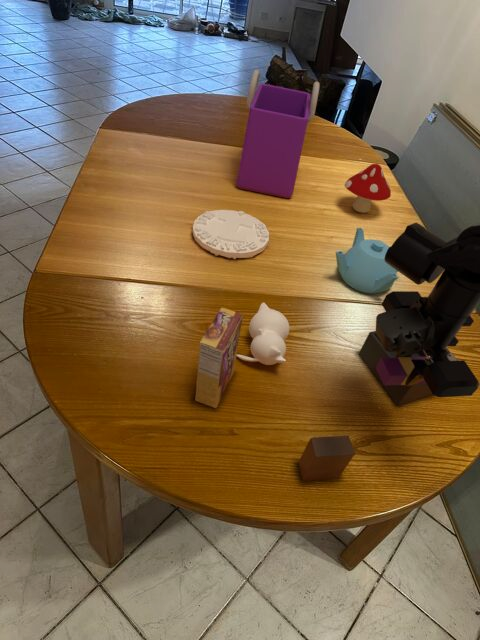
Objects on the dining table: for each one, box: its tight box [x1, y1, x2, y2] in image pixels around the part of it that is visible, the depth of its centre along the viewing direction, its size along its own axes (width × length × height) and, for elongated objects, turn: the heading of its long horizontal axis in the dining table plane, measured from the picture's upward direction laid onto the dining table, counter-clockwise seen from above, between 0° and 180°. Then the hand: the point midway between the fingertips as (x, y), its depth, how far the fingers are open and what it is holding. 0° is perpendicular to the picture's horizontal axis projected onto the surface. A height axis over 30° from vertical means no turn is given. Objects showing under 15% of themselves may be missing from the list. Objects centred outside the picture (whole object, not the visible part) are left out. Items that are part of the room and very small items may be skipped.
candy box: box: [194, 307, 244, 409], centre depth 70 cm, size 9×4×15 cm, turn 160°
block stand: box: [297, 435, 356, 482], centre depth 64 cm, size 6×3×8 cm, turn 98°
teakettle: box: [335, 227, 399, 295], centre depth 101 cm, size 15×15×11 cm
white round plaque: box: [191, 209, 270, 260], centre depth 109 cm, size 20×20×3 cm
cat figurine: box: [236, 302, 291, 366], centre depth 81 cm, size 9×11×12 cm
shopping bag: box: [236, 69, 321, 199], centre depth 128 cm, size 28×22×30 cm
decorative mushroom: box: [344, 163, 392, 214], centre depth 125 cm, size 14×14×15 cm
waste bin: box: [358, 330, 459, 407], centre depth 82 cm, size 13×13×6 cm
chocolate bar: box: [376, 357, 427, 386], centre depth 67 cm, size 8×4×2 cm, turn 99°
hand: (402, 374), depth 67 cm, fingers closed on chocolate bar, 4 cm apart
